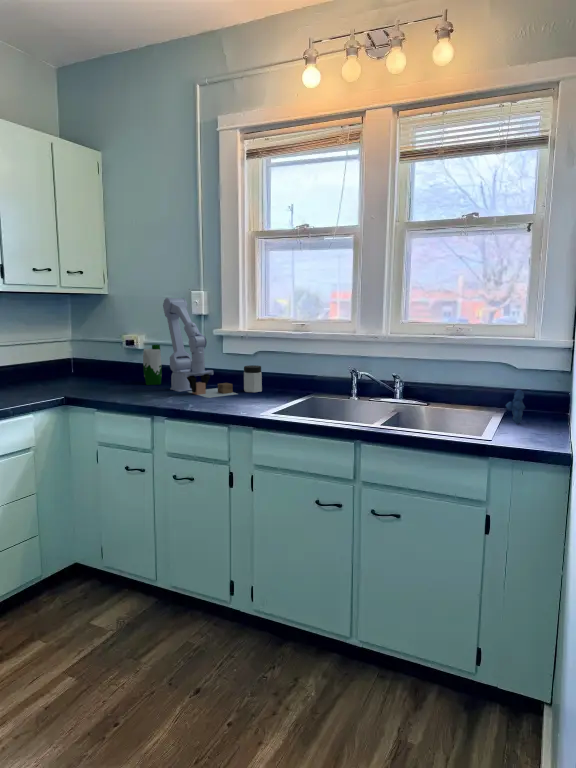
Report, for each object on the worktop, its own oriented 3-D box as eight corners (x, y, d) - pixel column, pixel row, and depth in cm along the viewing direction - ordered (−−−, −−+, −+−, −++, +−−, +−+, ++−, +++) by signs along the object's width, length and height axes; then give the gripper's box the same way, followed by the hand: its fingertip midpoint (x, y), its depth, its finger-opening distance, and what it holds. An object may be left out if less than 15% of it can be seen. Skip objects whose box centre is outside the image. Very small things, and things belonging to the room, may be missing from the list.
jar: (243, 390, 259) (242, 365, 257) (259, 389, 261) (259, 365, 259) (245, 393, 250) (245, 367, 248) (262, 392, 252) (262, 367, 250)
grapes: (504, 418, 199) (506, 386, 197) (524, 420, 196) (527, 387, 194) (503, 425, 188) (505, 391, 186) (524, 427, 185) (526, 392, 183)
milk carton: (162, 384, 275) (161, 345, 272) (144, 385, 273) (142, 346, 270) (161, 382, 284) (159, 344, 281) (143, 382, 281) (142, 344, 278)
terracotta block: (192, 393, 248) (192, 382, 247) (201, 392, 251) (200, 381, 250) (196, 394, 245) (196, 383, 244) (205, 393, 247) (205, 382, 247)
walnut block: (217, 392, 251) (217, 383, 250) (227, 391, 254) (226, 382, 253) (223, 393, 247) (223, 385, 246) (232, 392, 250) (232, 384, 249)
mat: (187, 392, 253) (187, 391, 253) (216, 388, 262) (216, 388, 262) (208, 398, 237) (208, 397, 237) (238, 394, 247) (238, 393, 247)
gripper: (187, 364, 238) (188, 394, 240) (216, 361, 247) (217, 390, 249) (180, 362, 243) (181, 392, 246) (208, 360, 252) (209, 388, 254)
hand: (198, 391), depth 248 cm, fingers closed on terracotta block, 4 cm apart
